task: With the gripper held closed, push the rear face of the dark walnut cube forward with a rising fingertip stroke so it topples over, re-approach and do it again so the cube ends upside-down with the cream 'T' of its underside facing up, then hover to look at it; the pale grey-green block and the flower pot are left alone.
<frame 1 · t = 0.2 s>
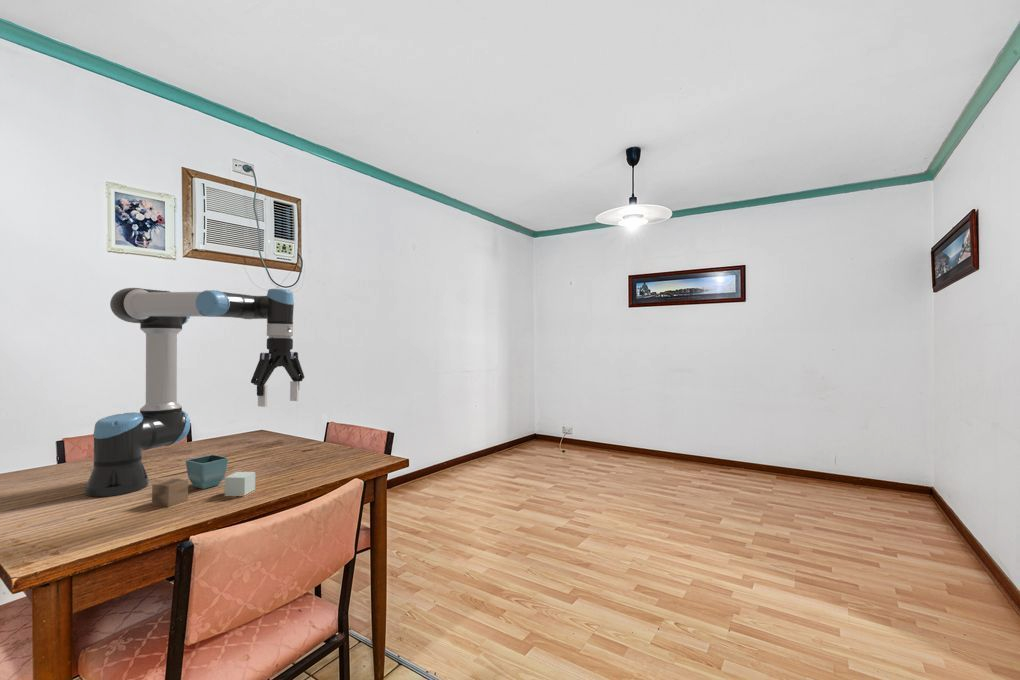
hand: (278, 403, 146), 28 cm above the table, fingers open, 13 cm apart
flower pot: (207, 486, 149), on the table
grey-green block: (240, 493, 142), on the table
walnut block: (170, 502, 133), on the table
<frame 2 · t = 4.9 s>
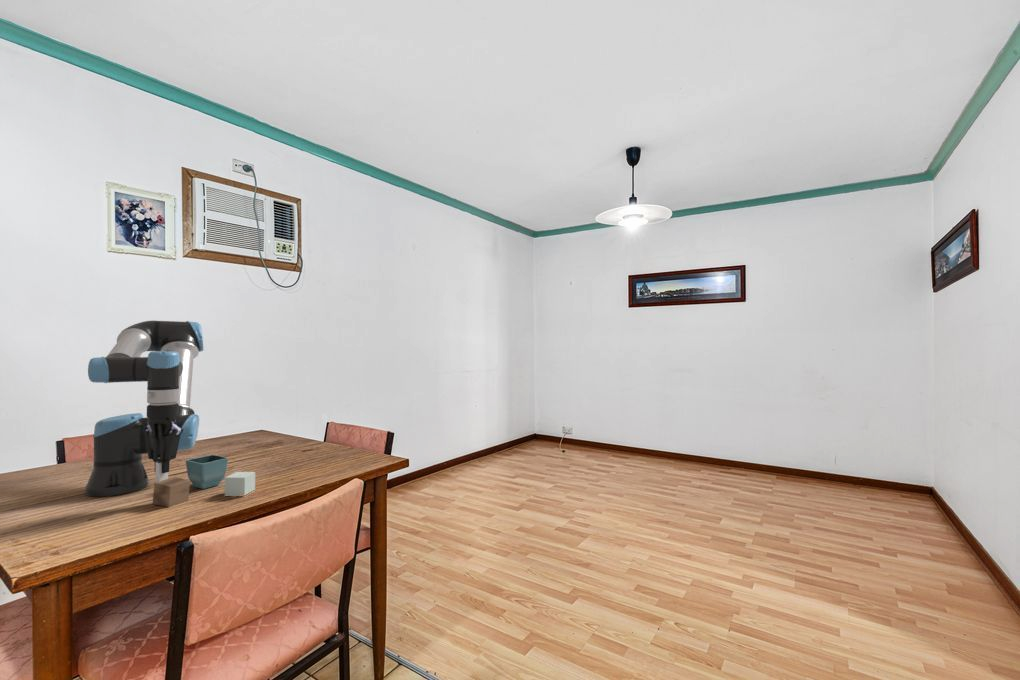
hand: (161, 483, 134), 5 cm above the table, fingers closed
walnut block: (170, 501, 133), on the table, tilted 5°, touching gripper
everything else where it was.
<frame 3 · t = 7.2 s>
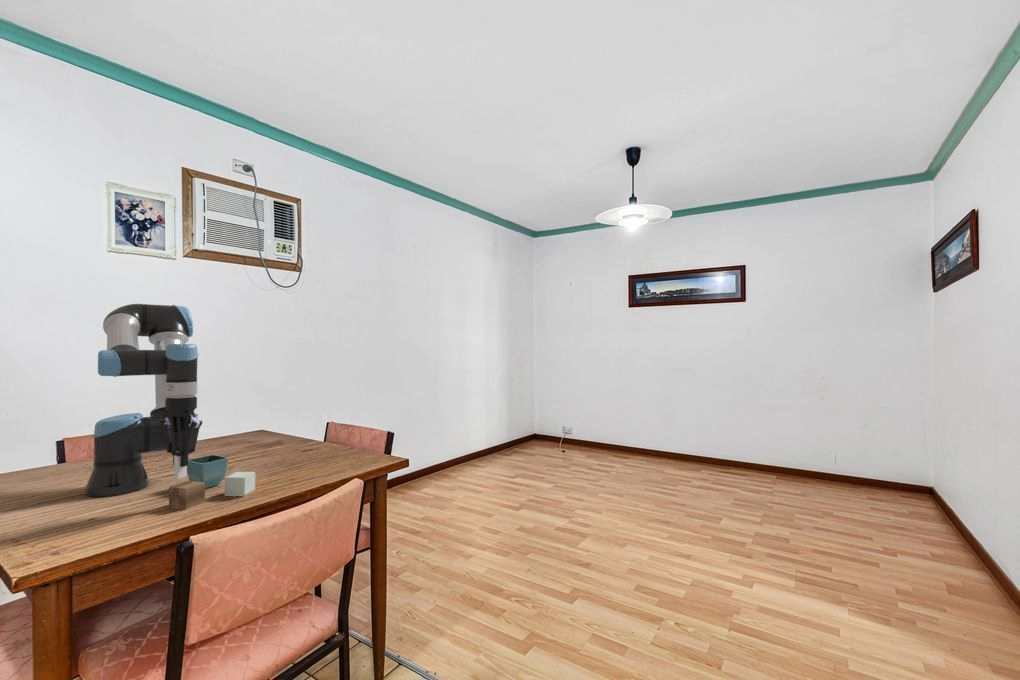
hand: (180, 477, 132), 8 cm above the table, fingers closed
walnut block: (179, 493, 133), point 3 cm above the table, tilted 90°
everything else where it was.
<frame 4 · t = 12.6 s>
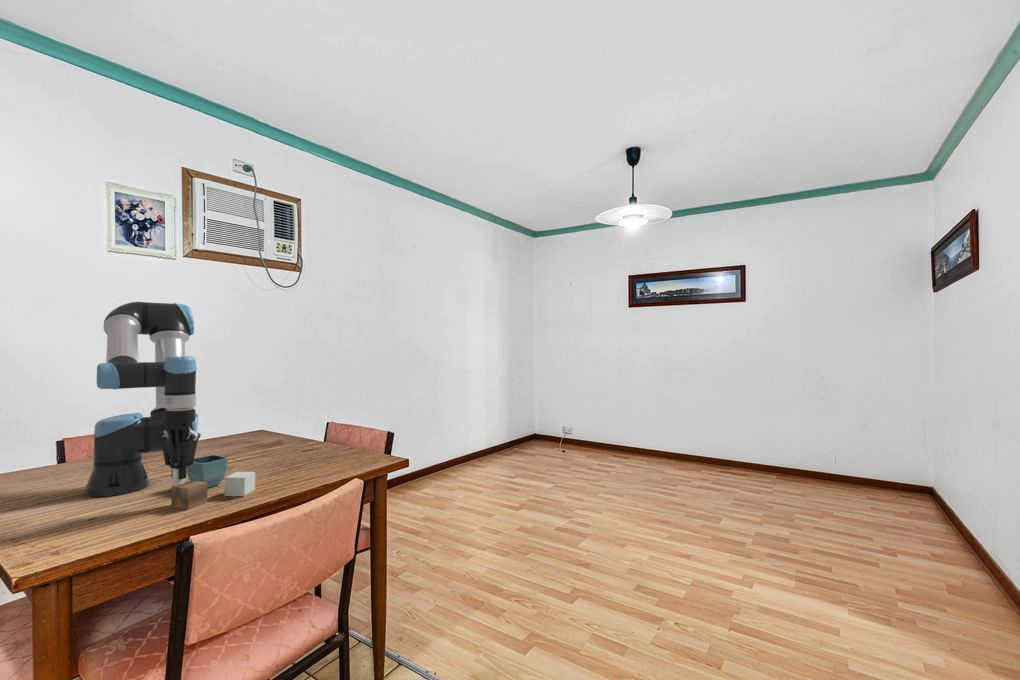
hand: (178, 489, 132), 4 cm above the table, fingers closed
walnut block: (181, 493, 132), point 3 cm above the table, tilted 90°, touching gripper
everything else where it was.
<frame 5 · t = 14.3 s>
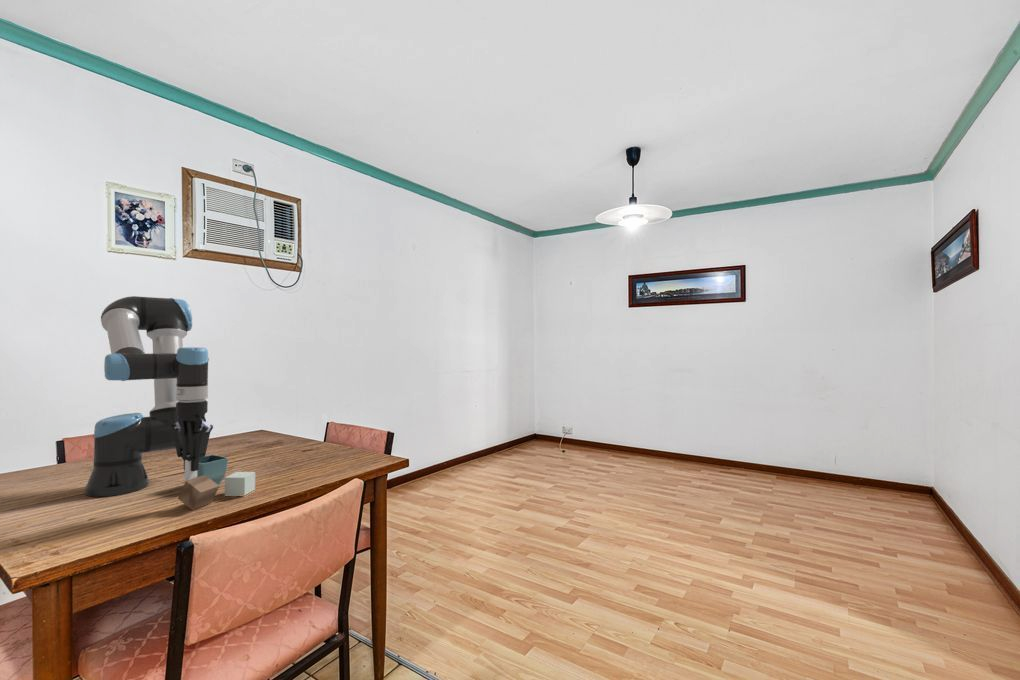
hand: (190, 481, 132), 7 cm above the table, fingers closed
walnut block: (191, 486, 132), point 5 cm above the table, tilted 118°, touching gripper
everything else where it was.
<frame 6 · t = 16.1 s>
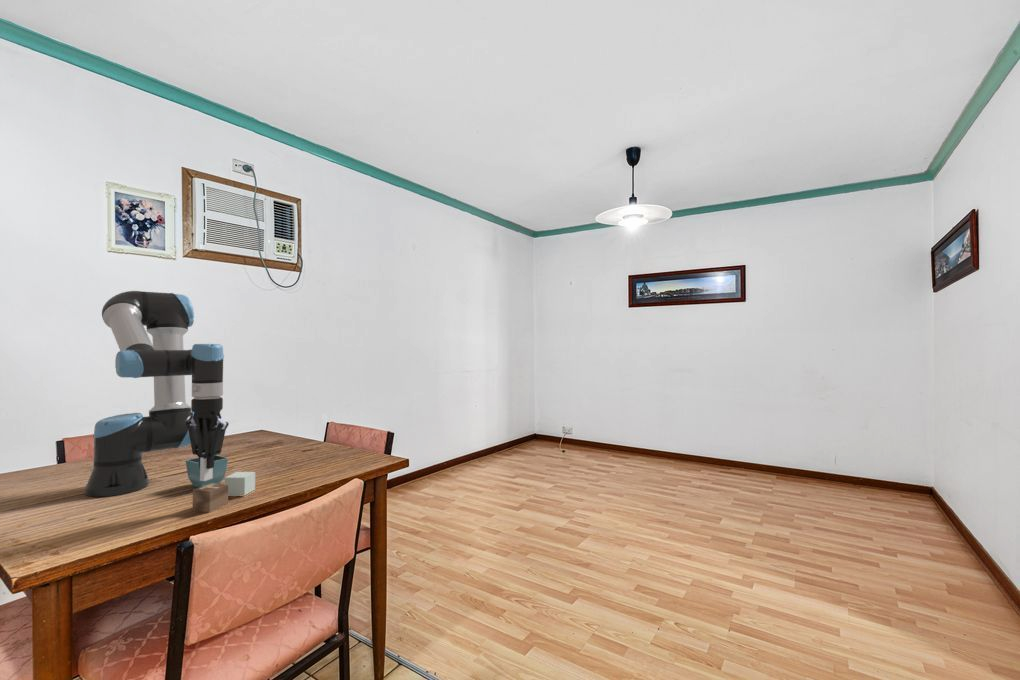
hand: (206, 479, 130), 8 cm above the table, fingers closed
walnut block: (210, 487, 130), point 6 cm above the table, tilted 180°
everything else where it was.
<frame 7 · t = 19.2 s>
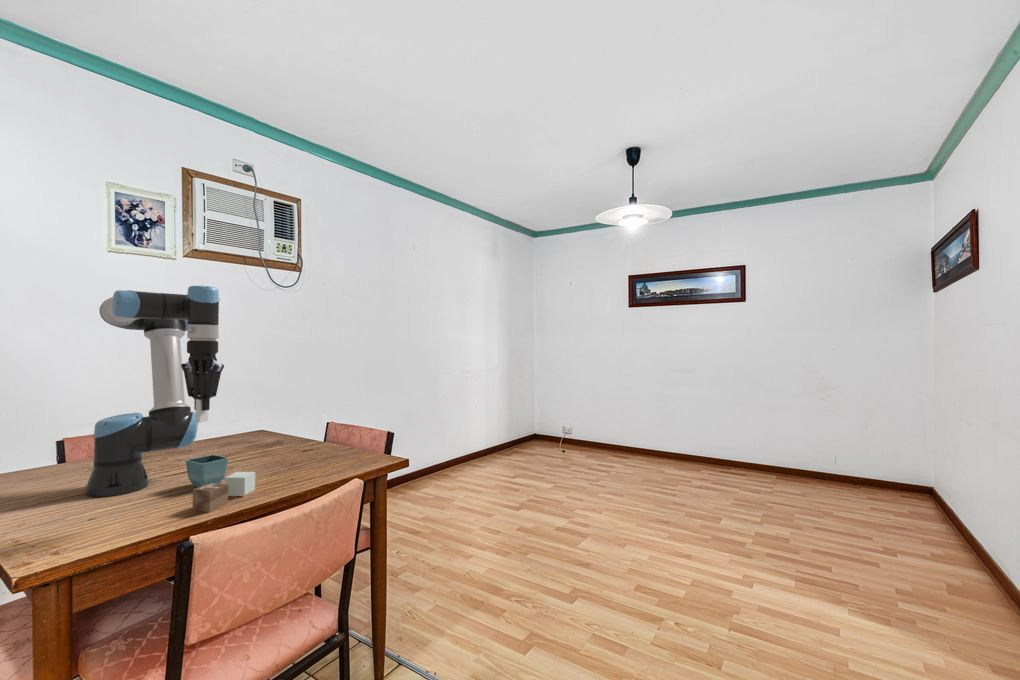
hand: (201, 421, 131), 24 cm above the table, fingers closed
nothing on the table moved.
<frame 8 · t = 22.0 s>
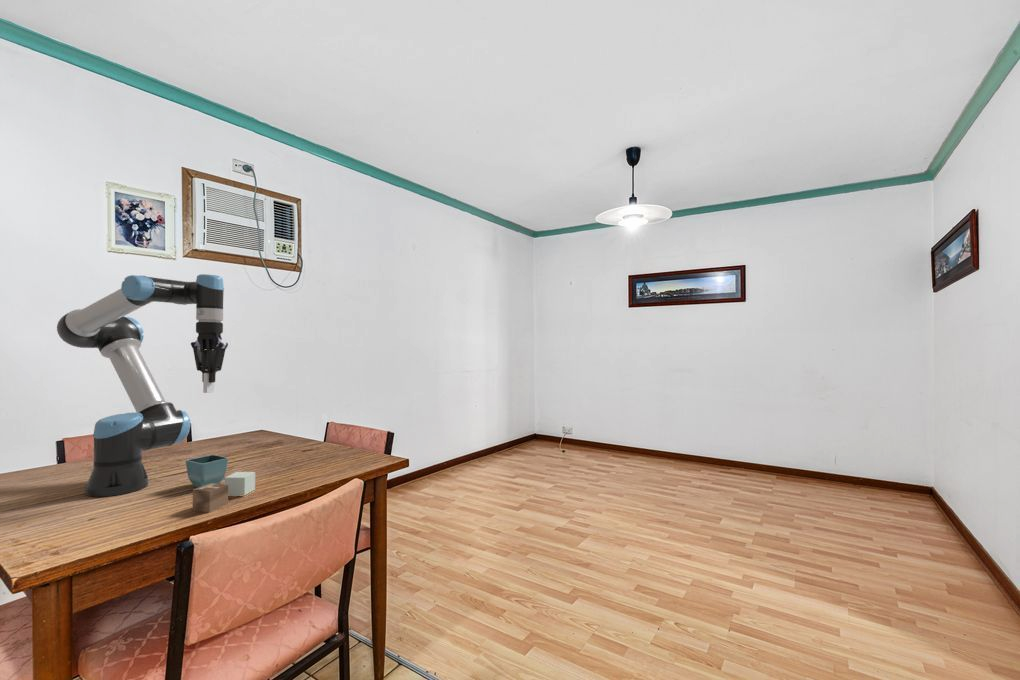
hand: (208, 392, 151), 30 cm above the table, fingers closed
nothing on the table moved.
at the end: walnut block tilted 180°; walnut block inside the target area (1.4 cm from its centre), point 5.9 cm above the table; grey-green block moved 0.1 cm from its start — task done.
